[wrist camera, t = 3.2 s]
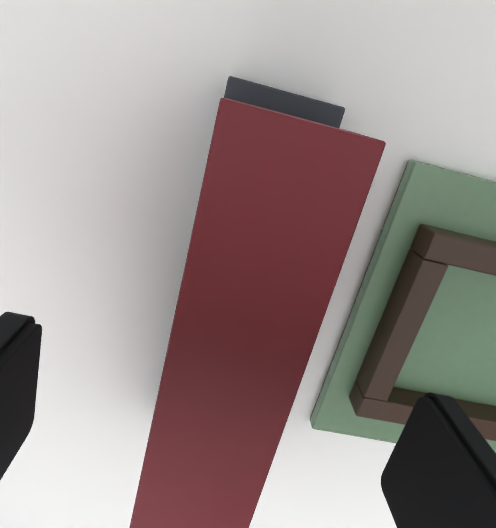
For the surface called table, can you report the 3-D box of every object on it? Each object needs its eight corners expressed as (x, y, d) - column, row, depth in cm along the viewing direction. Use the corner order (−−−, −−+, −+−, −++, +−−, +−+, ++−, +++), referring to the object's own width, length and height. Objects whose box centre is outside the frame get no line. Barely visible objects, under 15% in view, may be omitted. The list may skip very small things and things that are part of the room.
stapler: (229, 78, 14) (227, 65, 8) (332, 106, 14) (397, 112, 9) (157, 411, 19) (125, 544, 13) (236, 424, 19) (237, 559, 14)
